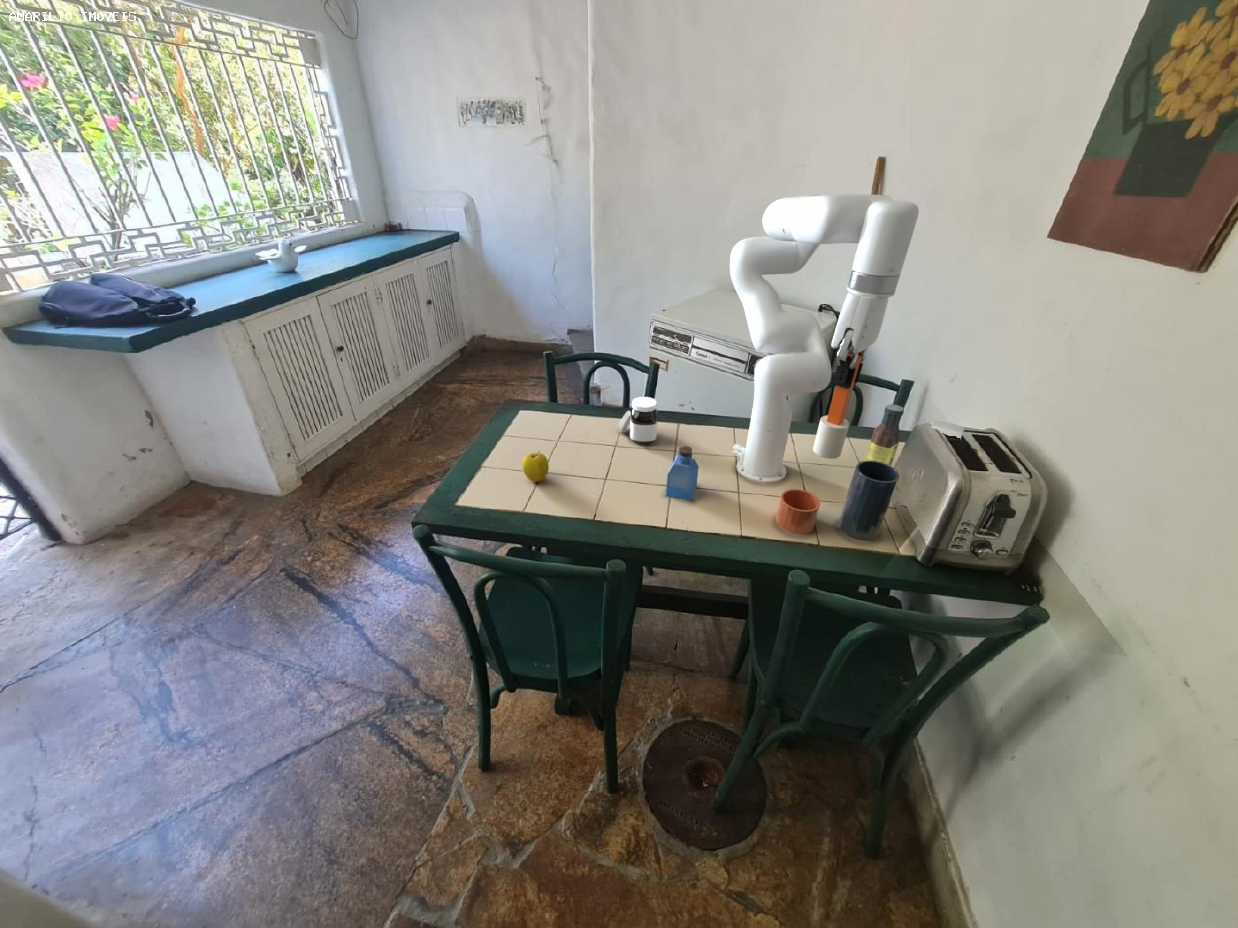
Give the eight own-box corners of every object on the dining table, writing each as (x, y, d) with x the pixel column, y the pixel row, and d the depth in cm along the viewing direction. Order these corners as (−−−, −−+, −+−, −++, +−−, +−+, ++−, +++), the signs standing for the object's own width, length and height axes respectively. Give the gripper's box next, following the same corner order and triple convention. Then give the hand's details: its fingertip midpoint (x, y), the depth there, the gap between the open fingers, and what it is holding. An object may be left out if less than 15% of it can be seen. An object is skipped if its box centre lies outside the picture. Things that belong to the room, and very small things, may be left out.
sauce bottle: (888, 486, 128) (914, 415, 118) (862, 483, 129) (885, 413, 119) (882, 472, 134) (906, 403, 123) (857, 469, 135) (879, 401, 124)
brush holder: (768, 524, 115) (774, 499, 111) (786, 508, 120) (792, 484, 116) (802, 541, 110) (809, 516, 106) (819, 524, 115) (826, 499, 111)
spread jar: (657, 447, 143) (659, 410, 136) (616, 447, 143) (617, 409, 136) (655, 427, 153) (657, 391, 146) (617, 426, 153) (617, 390, 146)
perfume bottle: (696, 486, 127) (701, 445, 120) (691, 501, 122) (695, 458, 115) (672, 482, 129) (675, 440, 122) (665, 495, 124) (669, 453, 117)
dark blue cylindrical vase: (831, 530, 113) (849, 471, 105) (846, 514, 118) (865, 456, 110) (867, 548, 109) (890, 487, 100) (882, 531, 114) (905, 471, 105)
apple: (554, 476, 130) (552, 449, 126) (540, 489, 125) (538, 461, 121) (533, 469, 132) (530, 443, 128) (518, 482, 127) (515, 455, 123)
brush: (808, 451, 104) (832, 356, 93) (819, 442, 107) (844, 348, 96) (833, 461, 101) (861, 364, 90) (845, 451, 104) (873, 356, 93)
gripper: (868, 272, 93) (843, 367, 103) (830, 287, 83) (806, 390, 93) (912, 279, 89) (881, 377, 99) (877, 296, 79) (846, 403, 89)
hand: (845, 383), depth 96 cm, fingers closed on brush, 2 cm apart
